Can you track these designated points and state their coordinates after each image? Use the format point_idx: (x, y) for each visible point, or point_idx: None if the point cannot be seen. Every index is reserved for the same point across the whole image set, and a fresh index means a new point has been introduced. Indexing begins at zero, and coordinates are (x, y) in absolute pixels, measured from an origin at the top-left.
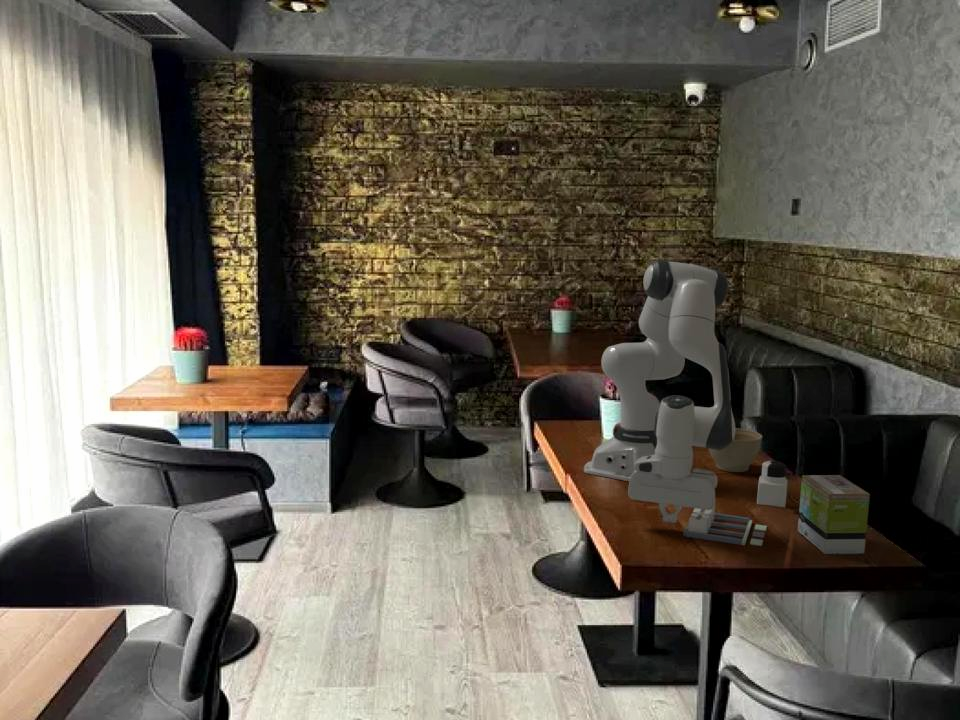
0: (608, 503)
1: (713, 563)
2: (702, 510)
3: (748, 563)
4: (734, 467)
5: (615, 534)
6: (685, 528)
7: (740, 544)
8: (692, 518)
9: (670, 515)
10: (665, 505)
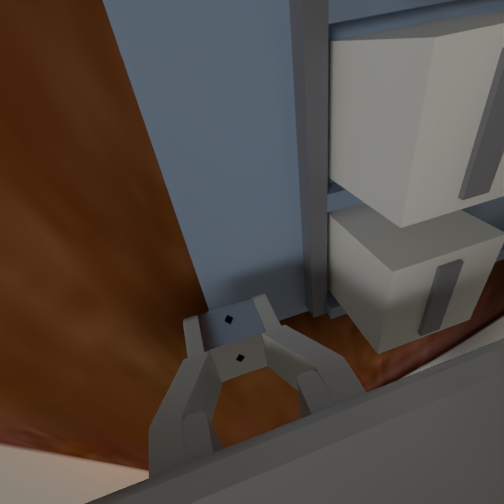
0: None
1: (404, 358)
2: (492, 149)
3: (493, 300)
4: None
5: (16, 419)
6: (311, 264)
7: None
8: (396, 341)
9: (250, 366)
10: (219, 445)
